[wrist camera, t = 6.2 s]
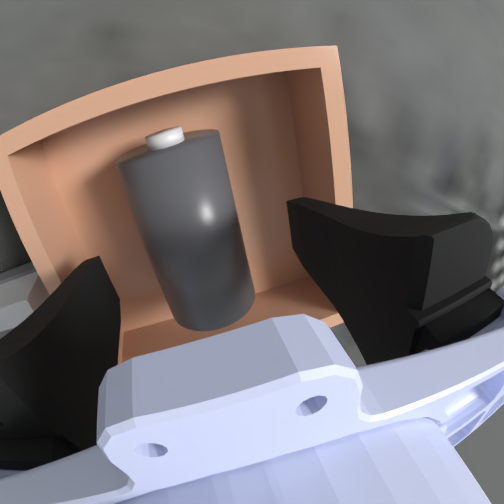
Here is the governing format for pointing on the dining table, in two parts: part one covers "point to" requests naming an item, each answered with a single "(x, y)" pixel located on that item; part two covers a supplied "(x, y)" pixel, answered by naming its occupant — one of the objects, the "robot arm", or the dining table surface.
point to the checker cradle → (19, 296)
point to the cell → (190, 225)
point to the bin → (238, 164)
